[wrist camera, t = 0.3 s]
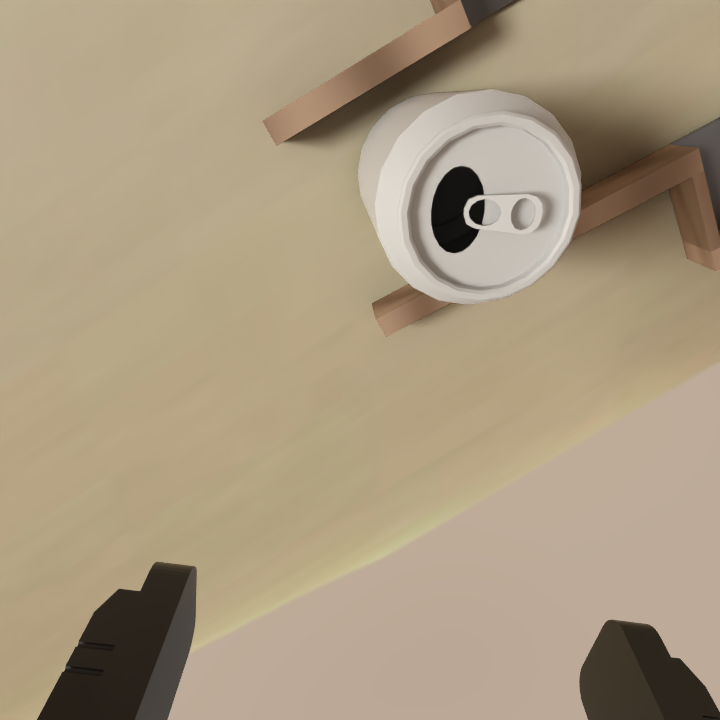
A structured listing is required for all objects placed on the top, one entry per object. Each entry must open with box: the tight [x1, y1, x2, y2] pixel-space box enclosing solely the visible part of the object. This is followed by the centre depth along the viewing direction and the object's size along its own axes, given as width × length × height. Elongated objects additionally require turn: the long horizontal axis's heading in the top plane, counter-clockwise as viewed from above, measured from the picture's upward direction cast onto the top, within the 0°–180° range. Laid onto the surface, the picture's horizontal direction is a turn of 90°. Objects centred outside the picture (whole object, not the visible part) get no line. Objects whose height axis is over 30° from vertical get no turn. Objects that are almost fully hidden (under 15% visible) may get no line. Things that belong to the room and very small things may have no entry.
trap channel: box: [263, 0, 720, 337], centre depth 24 cm, size 35×24×6 cm
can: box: [358, 89, 582, 305], centre depth 23 cm, size 8×8×12 cm
